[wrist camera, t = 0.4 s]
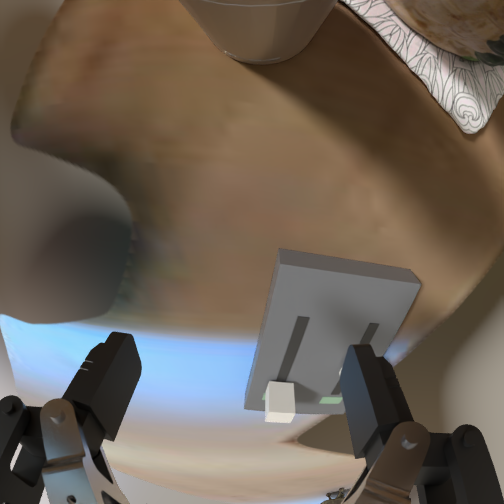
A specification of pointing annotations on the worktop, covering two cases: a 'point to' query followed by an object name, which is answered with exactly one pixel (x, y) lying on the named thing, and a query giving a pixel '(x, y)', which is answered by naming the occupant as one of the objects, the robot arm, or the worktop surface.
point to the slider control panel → (324, 324)
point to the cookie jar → (447, 50)
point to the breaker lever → (279, 402)
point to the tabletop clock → (335, 502)
